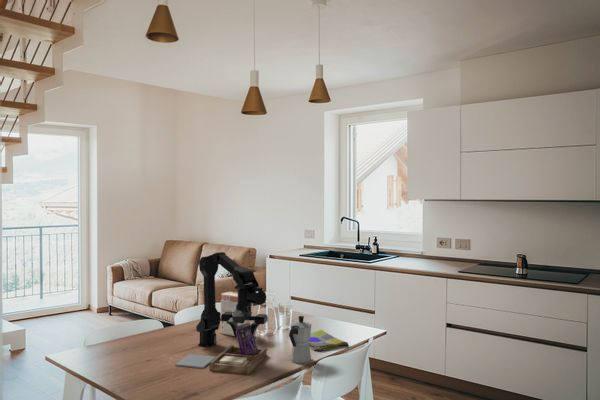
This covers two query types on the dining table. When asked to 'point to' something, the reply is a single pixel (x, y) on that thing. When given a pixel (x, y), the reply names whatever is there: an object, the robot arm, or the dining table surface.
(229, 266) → the robot arm
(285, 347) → the dining table surface
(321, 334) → the dish towel
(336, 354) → the dining table surface
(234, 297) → the coffeecake box
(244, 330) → the beverage can
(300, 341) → the coffee maker
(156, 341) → the dining table surface
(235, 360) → the offcut stack
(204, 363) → the slate mat
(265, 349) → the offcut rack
